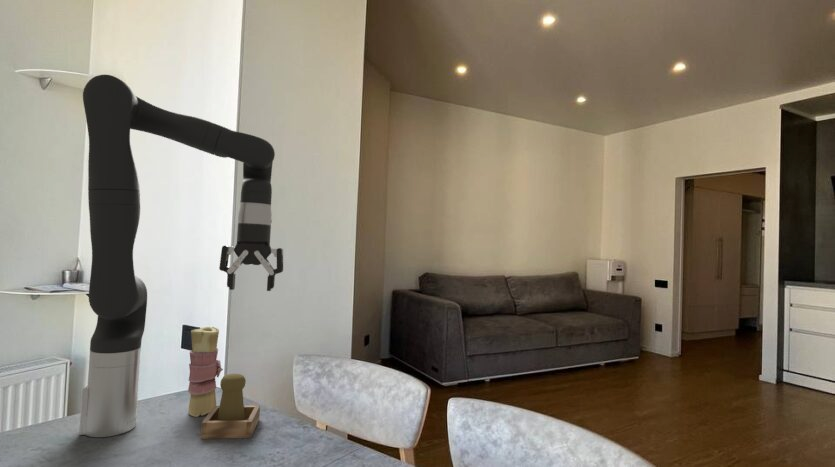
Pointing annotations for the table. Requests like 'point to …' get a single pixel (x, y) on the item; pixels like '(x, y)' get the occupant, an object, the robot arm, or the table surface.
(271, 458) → the table surface
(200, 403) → the scroll
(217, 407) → the wooden tray
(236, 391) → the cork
